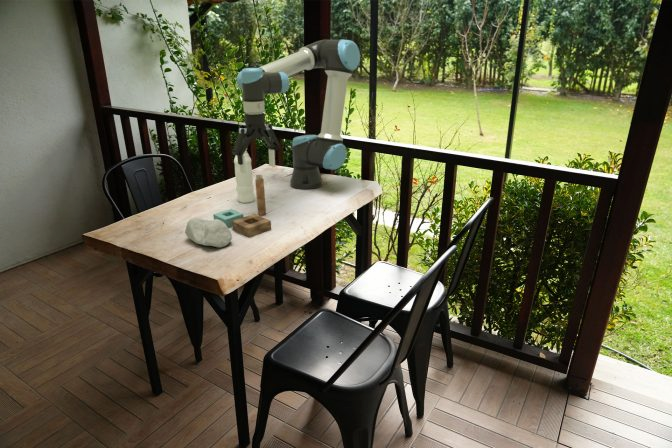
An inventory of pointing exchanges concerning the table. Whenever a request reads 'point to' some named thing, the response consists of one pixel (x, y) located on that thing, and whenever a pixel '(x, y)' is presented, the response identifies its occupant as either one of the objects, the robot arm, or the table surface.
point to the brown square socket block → (251, 225)
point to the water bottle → (244, 180)
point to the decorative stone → (208, 232)
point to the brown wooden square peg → (260, 195)
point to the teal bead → (228, 216)
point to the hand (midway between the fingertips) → (258, 169)
